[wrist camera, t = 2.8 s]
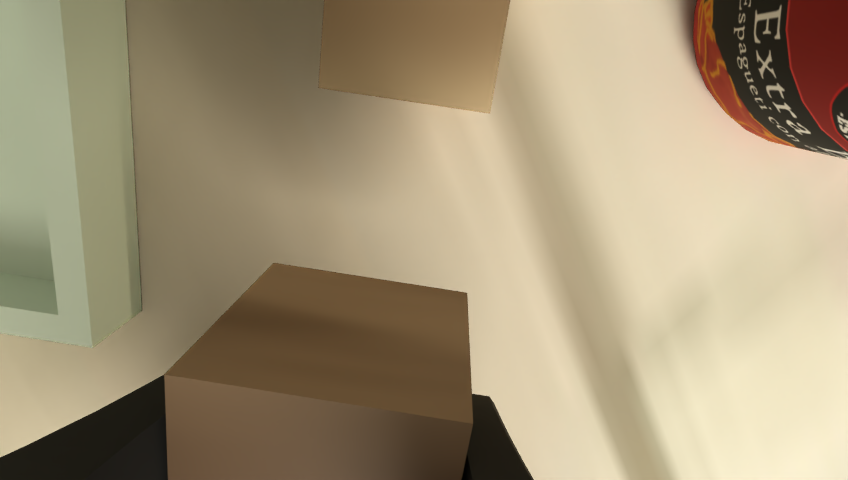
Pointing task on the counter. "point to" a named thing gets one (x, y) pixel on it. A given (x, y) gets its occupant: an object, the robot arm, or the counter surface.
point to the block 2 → (325, 383)
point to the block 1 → (414, 50)
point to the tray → (66, 172)
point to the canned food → (778, 68)
